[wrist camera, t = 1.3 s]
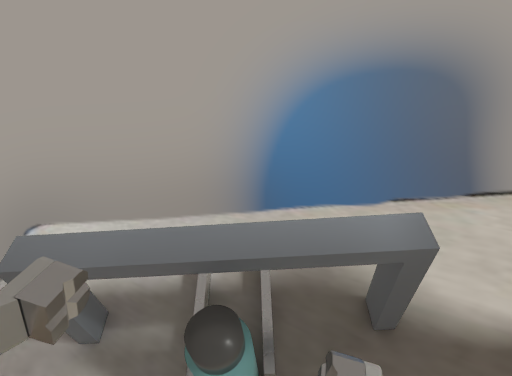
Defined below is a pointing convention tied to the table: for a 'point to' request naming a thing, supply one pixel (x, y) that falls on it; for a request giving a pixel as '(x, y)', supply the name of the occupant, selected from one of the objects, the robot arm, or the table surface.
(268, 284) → the guide rails
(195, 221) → the table surface
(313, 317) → the table surface
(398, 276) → the arch
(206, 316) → the teal water bottle
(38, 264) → the robot arm
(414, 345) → the table surface
